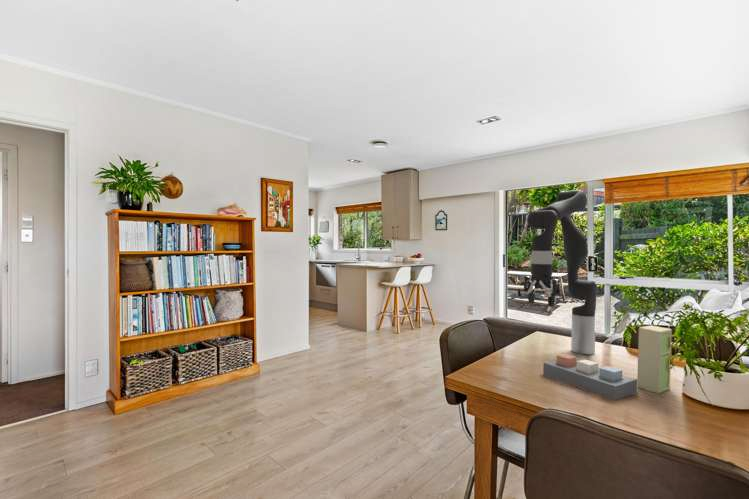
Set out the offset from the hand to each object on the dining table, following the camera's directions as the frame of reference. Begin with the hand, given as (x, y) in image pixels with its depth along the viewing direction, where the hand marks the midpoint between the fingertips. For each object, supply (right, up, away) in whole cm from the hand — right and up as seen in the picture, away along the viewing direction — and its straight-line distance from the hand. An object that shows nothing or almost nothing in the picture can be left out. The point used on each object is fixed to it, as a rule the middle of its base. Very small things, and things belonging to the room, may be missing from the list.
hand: (540, 304), depth 142 cm
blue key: (+16, -23, -16) cm, 33 cm away
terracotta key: (+9, -23, -2) cm, 25 cm away
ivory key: (+12, -23, -9) cm, 28 cm away
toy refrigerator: (+33, -27, -14) cm, 45 cm away
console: (+12, -27, -9) cm, 31 cm away
